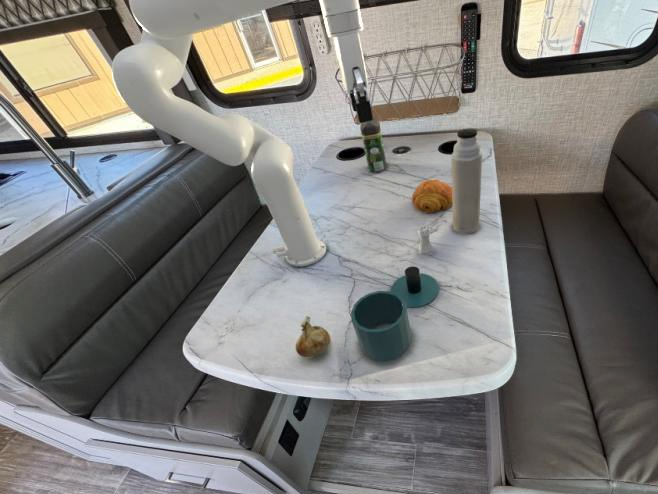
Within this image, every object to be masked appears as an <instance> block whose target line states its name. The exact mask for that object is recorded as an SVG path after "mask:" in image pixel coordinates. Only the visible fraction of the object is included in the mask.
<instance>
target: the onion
mask: <svg viewBox="0 0 658 494" xmlns="http://www.w3.org/2000/svg"><path fill="white" fill-rule="evenodd" d="M311 320H312V319H311V316H308V315H306V316H305V317H304V320H303V322H302V323H301V324H300V327H301V329H300V331H302V332H301V335H300V336H299V337H298V338H297V340H296V343H295V352H296V353H297V354H298V356H300V357H302V358H316V357H318V356H320V355H321V354H322V353H324V352H325V351H326V350H327V348H328V347H329V346H330V343H331V336H330V334H329V331H327V330H326V329H325V328H323V327H321V326H320V325H314V326H313V325H312V324H311Z"/></svg>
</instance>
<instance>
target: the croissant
mask: <svg viewBox="0 0 658 494" xmlns="http://www.w3.org/2000/svg"><path fill="white" fill-rule="evenodd" d="M411 201H412V204H413V206H414V207H415V209H417V210H418V211H419V212H422V213H426V214H427V213H433V212H434V213H436V212H438V211H445V210H448V208H450V207H452V206H453V205H452V185H449V183H446V182H444V181H441V180H439V179H428V180H425V181H422V182H420V183H419V184H418V185H417V187H416V188H415V190H414V191H413V193H412V196H411Z"/></svg>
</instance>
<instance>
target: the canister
mask: <svg viewBox="0 0 658 494" xmlns="http://www.w3.org/2000/svg"><path fill="white" fill-rule="evenodd" d="M350 320H351V323H352V326H353V329H354V332H355V335H356V337H357V340H358V343H359V346H360V349H361V351H362V352H363V354H364V355H365V356H366V357H367V358H369V359H370V360H373V361H376V362H383V363H384V362H390V361H394V360H397V359H399V358H400V357H401V356H403V355H405V353H406V352H407V351H408V350H409V348H410V347H411V343H412V332H411V327H410V320H409V314H408V308H407V307H406V304H405V301H404V300H403V299H402V298H401V297H400V296H399V295H398V294H396V293H393V292H391V290H377V291H373V292H369V293H367V294H365V295H364V296H362V297H359V299H358V300H357V301H356V302H355V303H354V304H353V306H352V308H351V311H350ZM384 324H390V325H388V326H386V327H383V328H379V329H378V328H377V329H376V327H377V326H380V325H384Z"/></svg>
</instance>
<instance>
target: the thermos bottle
mask: <svg viewBox="0 0 658 494" xmlns="http://www.w3.org/2000/svg"><path fill="white" fill-rule="evenodd" d="M477 135H478V130H477V129H475V128H472V127H471V128H469V127H468V128H463V129H459V130H458V131H457V139H456V140H457V141H456V143H455V144H454V145H453V152H452V153H451V156H450V157H451V187H452V205H451V206H452V229H453V230H454V231H455V232H459V233H468V234H472V233H475V232H477V231H478V230H479V228H480V220H481V219H480V218H481V217H480V216H481V193H482V192H481V191H482V172H483V168H482V167H483V151H482V150H481V148H482V147H481V144H480V142H479V141H477V140H478V137H477Z"/></svg>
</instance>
